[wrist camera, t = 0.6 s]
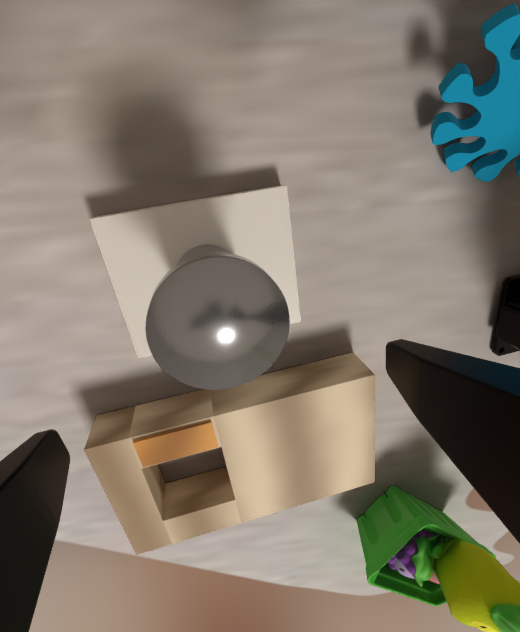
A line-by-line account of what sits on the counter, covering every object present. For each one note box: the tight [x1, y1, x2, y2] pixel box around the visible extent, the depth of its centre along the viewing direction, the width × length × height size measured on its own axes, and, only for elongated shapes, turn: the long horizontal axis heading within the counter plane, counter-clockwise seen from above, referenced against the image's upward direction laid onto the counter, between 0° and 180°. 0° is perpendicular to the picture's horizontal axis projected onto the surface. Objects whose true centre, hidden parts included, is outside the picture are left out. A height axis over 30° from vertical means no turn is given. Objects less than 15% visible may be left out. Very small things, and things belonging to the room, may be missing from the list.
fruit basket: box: [357, 486, 520, 632], centre depth 28 cm, size 11×9×11 cm
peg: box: [145, 244, 290, 390], centre depth 15 cm, size 5×5×7 cm
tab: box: [90, 185, 301, 359], centre depth 19 cm, size 10×8×1 cm
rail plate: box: [84, 353, 375, 555], centre depth 23 cm, size 18×10×3 cm, turn 98°
